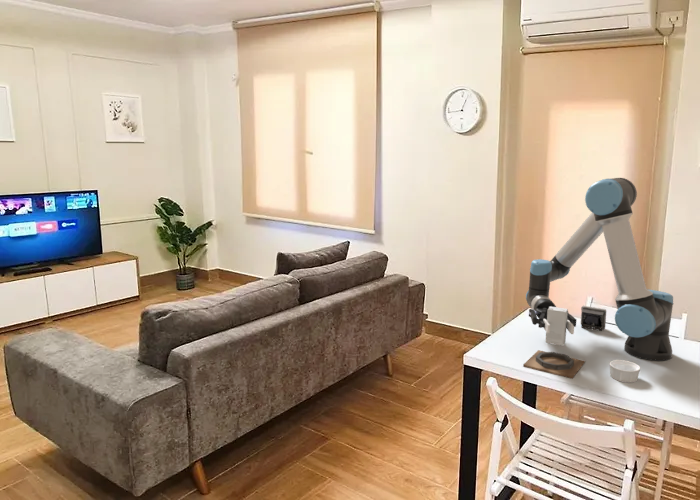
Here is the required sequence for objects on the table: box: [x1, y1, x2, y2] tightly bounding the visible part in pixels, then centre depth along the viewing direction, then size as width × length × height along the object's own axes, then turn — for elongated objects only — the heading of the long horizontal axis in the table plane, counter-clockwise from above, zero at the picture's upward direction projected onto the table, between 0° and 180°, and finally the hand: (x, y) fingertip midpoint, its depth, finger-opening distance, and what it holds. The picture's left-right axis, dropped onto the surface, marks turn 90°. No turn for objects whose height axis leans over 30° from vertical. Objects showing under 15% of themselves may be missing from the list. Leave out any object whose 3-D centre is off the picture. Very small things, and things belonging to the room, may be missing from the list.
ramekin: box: [609, 359, 641, 384], centre depth 174 cm, size 9×9×4 cm
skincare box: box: [544, 306, 569, 347], centre depth 182 cm, size 6×4×12 cm
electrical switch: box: [580, 305, 607, 332], centre depth 218 cm, size 9×5×9 cm, turn 57°
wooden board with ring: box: [523, 349, 586, 379], centre depth 184 cm, size 16×16×2 cm
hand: (560, 329), depth 177 cm, fingers closed on skincare box, 7 cm apart
